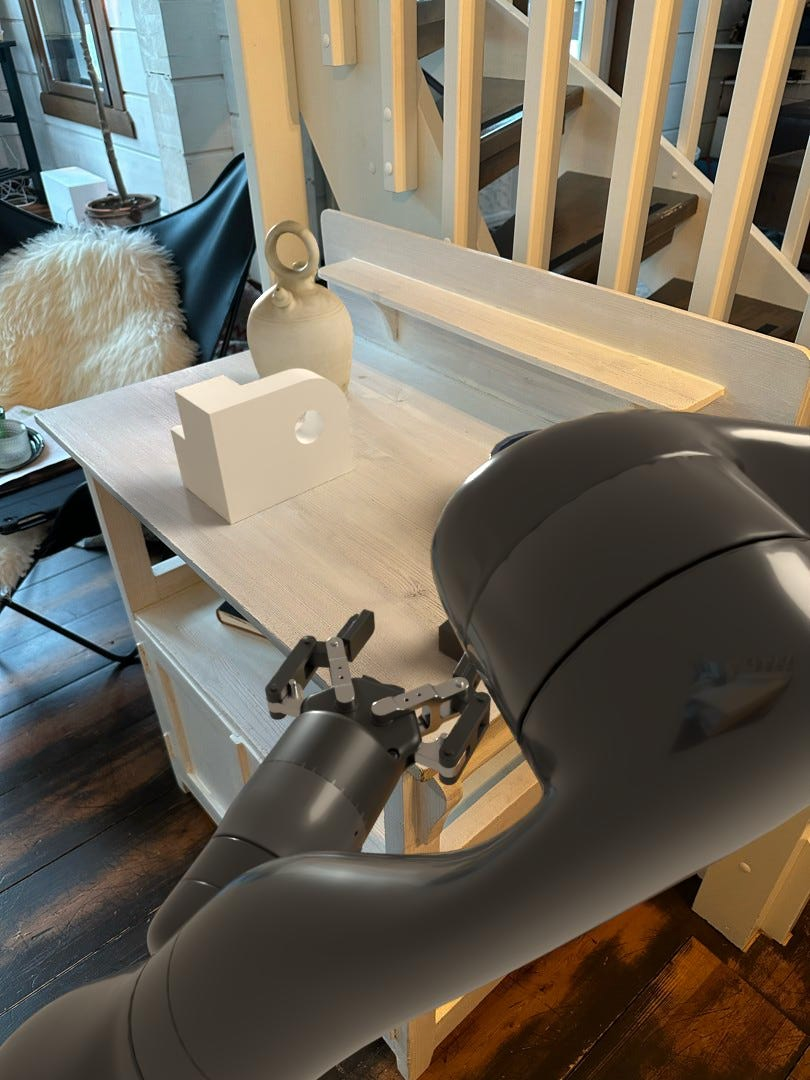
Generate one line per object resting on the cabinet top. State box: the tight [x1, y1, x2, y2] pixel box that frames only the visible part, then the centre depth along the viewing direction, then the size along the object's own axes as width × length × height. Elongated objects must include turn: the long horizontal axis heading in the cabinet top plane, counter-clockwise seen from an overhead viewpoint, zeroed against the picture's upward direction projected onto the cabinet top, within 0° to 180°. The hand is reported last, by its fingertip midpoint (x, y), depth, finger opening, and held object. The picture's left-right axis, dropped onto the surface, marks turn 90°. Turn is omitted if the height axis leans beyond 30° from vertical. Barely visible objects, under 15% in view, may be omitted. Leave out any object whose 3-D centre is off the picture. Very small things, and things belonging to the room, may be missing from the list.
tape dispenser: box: [169, 368, 355, 525], centre depth 92 cm, size 18×12×14 cm, turn 131°
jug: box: [246, 219, 355, 397], centre depth 108 cm, size 15×16×25 cm
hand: (421, 634), depth 55 cm, fingers open, 8 cm apart
